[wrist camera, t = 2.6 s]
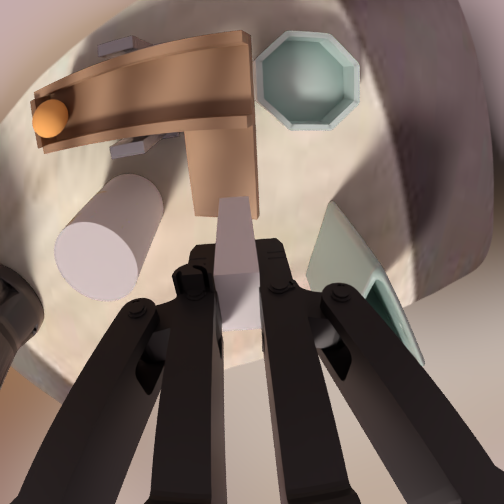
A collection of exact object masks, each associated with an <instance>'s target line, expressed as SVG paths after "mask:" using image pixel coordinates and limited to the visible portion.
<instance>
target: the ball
mask: <svg viewBox="0 0 504 504" xmlns="http://www.w3.org/2000/svg"><path fill="white" fill-rule="evenodd" d="M67 121H68V110H67V107H66V106H65V104H64V103H63V102H61V101H59V100H56V99H51V100H47V101H45V102H43V103H42V104H40V105H39V106H38V108H37V109H36V111H35V113H34V115H33V120H32V123H33V128H34V130H35V132H36V133H37V134H38V135H39V136H41V137H45V138H50V137H54V136H56V135H58V134H59V133H60V132H61V131H62V130H63V129H64V128H65V126H66V124H67Z"/></svg>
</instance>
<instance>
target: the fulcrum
mask: <svg viewBox="0 0 504 504" xmlns="http://www.w3.org/2000/svg"><path fill="white" fill-rule="evenodd" d="M166 43H168V42H166ZM161 44H163V43H161ZM156 45H159V44H156ZM152 46H155V45H152V44H150V43H148V42H146V41H143V40H141V39H139V38H137V37H135V36H128V37H124V38H121V39H117V40H114V41H110V42H107V43H103V44H100V45H98V57H102V58H110V59H112V58H115V57H118V56H121V55H124V54H127V53H130V52H134V51H137V50H141V49H144V48H148V47H152ZM178 136H179V132H172V133H162V134H153V135H145V136H137V137H130V138H124V139H122V140H120V141H119V142H117V143H116V144H114V145H112V146H111V147H110V152H111V157H112V159H116V158H121V157H126V156H132V155H138V154H144V153H146V152H147V151H148V150H149V149H150V148H151V147H153V146H154V145H155V144H156V143H157V142H158V141H159V140H160V139H164V138H171V137H178Z"/></svg>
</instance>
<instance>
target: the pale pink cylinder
mask: <svg viewBox="0 0 504 504" xmlns="http://www.w3.org/2000/svg"><path fill="white" fill-rule="evenodd" d="M163 211H164V206H163V200H162V197H161V194H160V192H159V191H158V189H157V188H156V187H155V185H154V184H153V183H152V182H150V181H149V180H148V179H146V178H144V177H142V176H139V175H136V174H122V175H119V176H116V177H114V178H113V179H111V180H110V181H109V182H108V183H107V184H106V185H105V186H104V187H103V188H102V189H101V190H100V191H99V192H98V193H97V194H96V195H95V196H94V197H93V198H92V199H91V200H90V201H89V202H88V203H87V204H86V205H85V206H84V207H83V208H82V209H81V210H80V211H79V212H78V213H77V215H76V216H75V217H74V218H73V219H72V220H71V221H70V222H69V223H68V224H67V226H66V227H65V228H64V229H63V230H62V231H61V232H60V234H59V235H58V237H57V239H56V242H55V247H54V256H55V261H56V264H57V267H58V269H59V271H60V273H61V275H62V276H63V278H64V279H65V280H66V282H67V283H68V284H69V285H70V286H71V287H72V288H74V289H75V290H76V291H78V292H79V293H81V294H82V295H84V296H86V297H89V298H91V299H94V300H99V301H115V300H119V299H121V298H123V297H125V296H127V295H128V294H129V293H130V292H131V291H132V290H133V288H134V287H135V284H136V282H137V279H138V277H139V274H140V271H141V269H142V266H143V263H144V261H145V258H146V256H147V253H148V251H149V248H150V246H151V243H152V241H153V238H154V236H155V233H156V231H157V229H158V226H159V224H160V222H161V219H162V216H163Z"/></svg>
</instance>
